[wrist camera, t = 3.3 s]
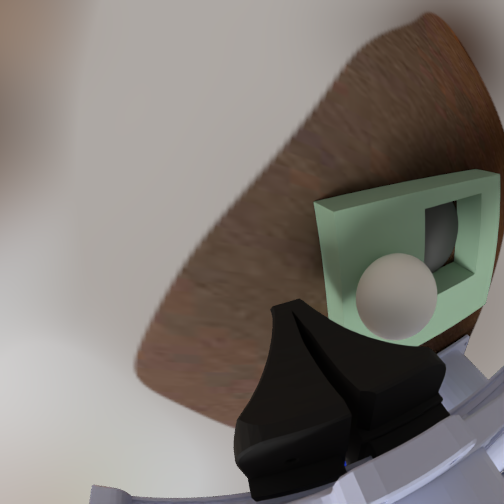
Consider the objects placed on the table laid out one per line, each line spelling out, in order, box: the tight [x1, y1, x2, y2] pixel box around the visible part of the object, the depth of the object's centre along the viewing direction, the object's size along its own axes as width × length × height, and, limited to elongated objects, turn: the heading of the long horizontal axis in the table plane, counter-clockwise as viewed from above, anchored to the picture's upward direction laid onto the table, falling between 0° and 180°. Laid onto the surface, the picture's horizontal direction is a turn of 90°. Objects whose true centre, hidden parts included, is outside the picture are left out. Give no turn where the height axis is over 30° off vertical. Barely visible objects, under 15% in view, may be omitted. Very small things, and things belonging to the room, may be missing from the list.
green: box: [314, 169, 500, 346], centre depth 15 cm, size 11×14×2 cm
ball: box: [356, 253, 437, 340], centre depth 11 cm, size 4×4×4 cm
